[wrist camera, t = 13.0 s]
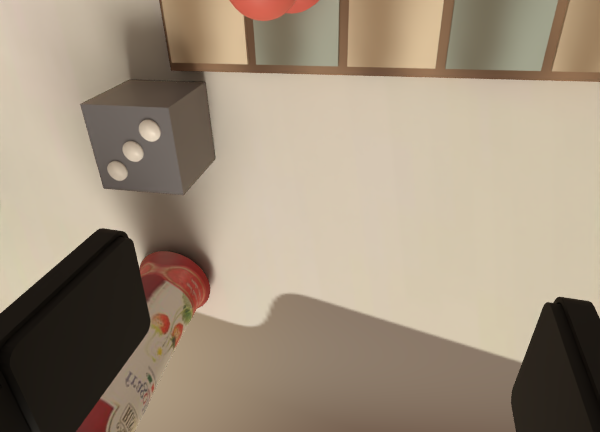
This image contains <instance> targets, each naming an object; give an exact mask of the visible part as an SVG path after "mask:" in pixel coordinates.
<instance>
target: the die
mask: <svg viewBox="0 0 600 432" xmlns="http://www.w3.org/2000/svg"><path fill="white" fill-rule="evenodd" d="M80 105H81V109H82V112H83V116H84V119H85V123H86V127H87V130H88V134H89V137H90V141H91V145H92V148H93V152H94V155H95V159H96V163H97V166H98V170H99V173H100V177H101V181H102V184H103V188H104V189H116V190H128V191H141V192H153V193H166V194H178V195H184V194H185V193H186V192H187V191H188V189H189V188H190V187H191V186H192V185H193V184H194V183H195V182H196V180H197V179H198V178H199V177H200V176H201V175H202V174H203V172H204V171H205V170H206V169H207V168H208V167H209V166H210V165H211V163H212V162H213V161H214V160H215V153H214V145H213V137H212V130H211V122H210V114H209V106H208V99H207V91H206V83H205V82H187V81H155V80H128V81H126V82H124V83H122V84H120V85H118V86H116V87H114V88H112V89H110V90H108V91H106V92H104V93H102V94H100V95H98V96H96V97H94V98H92V99H90V100H88V101H85V102H83V103H81V104H80Z"/></svg>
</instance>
